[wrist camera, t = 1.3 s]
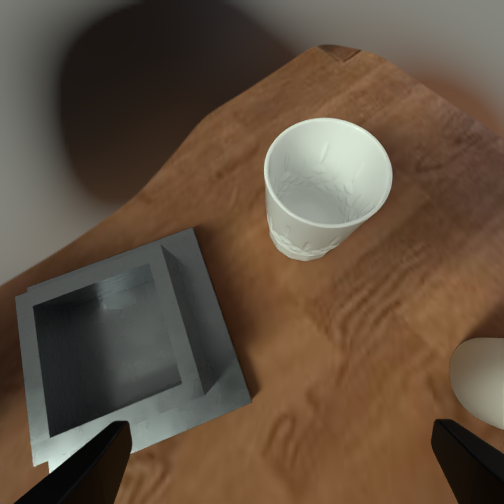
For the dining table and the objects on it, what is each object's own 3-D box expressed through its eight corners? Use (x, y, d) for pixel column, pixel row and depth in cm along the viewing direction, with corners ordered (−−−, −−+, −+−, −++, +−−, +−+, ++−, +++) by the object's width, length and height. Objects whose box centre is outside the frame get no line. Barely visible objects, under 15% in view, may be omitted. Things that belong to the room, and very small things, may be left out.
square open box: (252, 399, 22) (249, 418, 17) (61, 479, 20) (0, 525, 16) (194, 231, 26) (179, 208, 21) (35, 289, 25) (-18, 279, 20)
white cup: (305, 179, 27) (329, 98, 18) (360, 233, 25) (420, 174, 16) (247, 224, 26) (238, 162, 17) (300, 284, 24) (325, 254, 15)
